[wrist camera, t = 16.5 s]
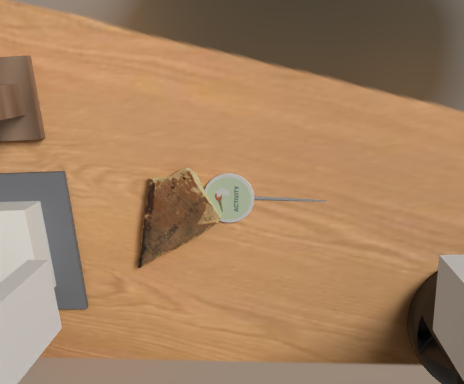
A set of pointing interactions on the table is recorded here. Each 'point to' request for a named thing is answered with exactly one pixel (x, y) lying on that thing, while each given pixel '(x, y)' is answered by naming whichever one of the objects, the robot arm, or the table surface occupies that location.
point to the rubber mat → (52, 229)
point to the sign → (235, 196)
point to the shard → (174, 213)
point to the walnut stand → (19, 101)
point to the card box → (22, 236)
